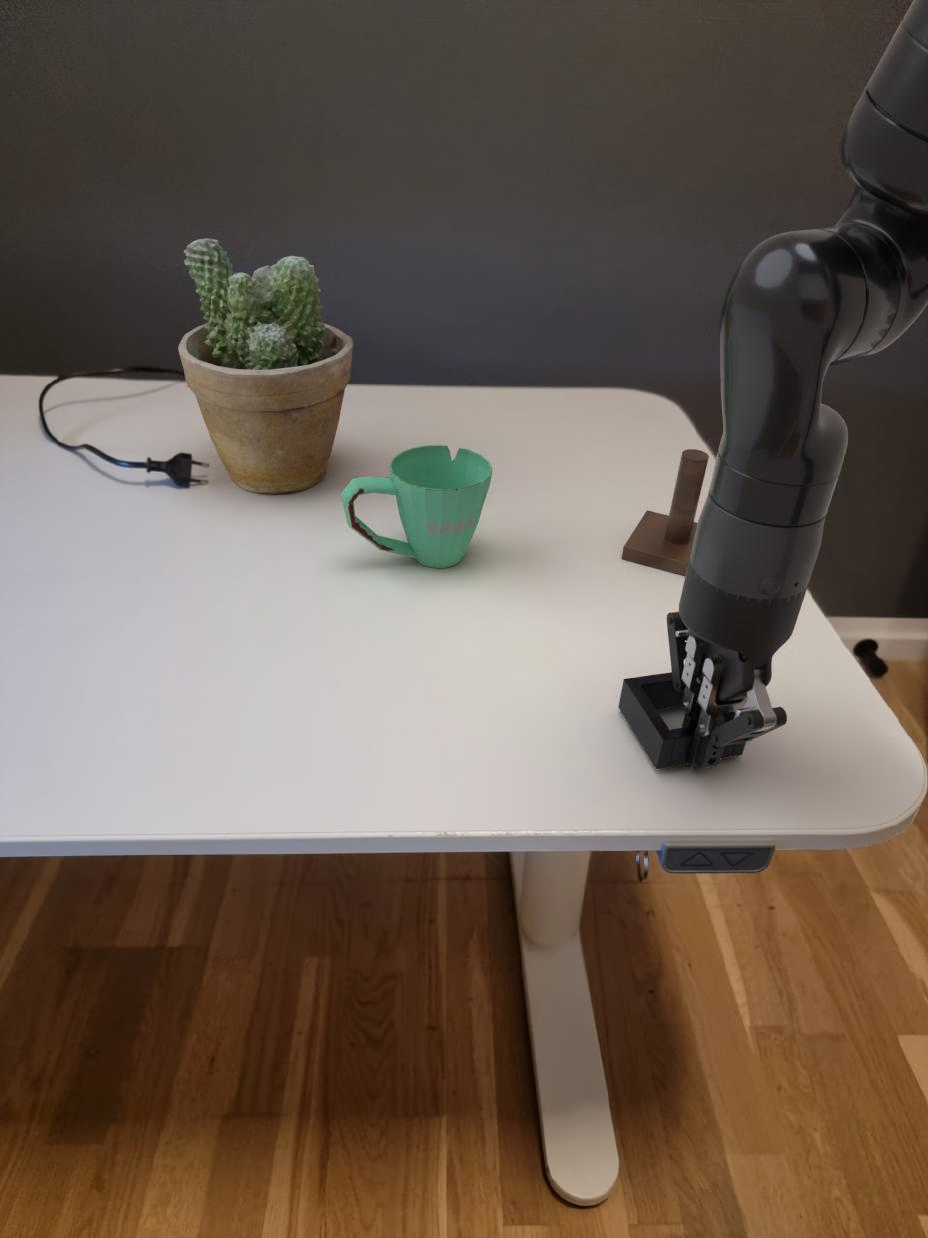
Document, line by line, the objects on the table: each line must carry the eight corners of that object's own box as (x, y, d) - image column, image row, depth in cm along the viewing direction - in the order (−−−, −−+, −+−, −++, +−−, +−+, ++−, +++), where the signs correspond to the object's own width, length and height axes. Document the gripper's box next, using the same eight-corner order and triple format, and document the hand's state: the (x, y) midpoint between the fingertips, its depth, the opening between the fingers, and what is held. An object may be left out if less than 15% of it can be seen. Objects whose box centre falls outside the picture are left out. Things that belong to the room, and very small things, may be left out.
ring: (742, 755, 66) (751, 726, 64) (656, 770, 64) (663, 740, 62) (698, 695, 71) (705, 667, 70) (617, 707, 70) (623, 678, 68)
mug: (467, 526, 93) (471, 440, 88) (500, 573, 86) (508, 482, 80) (333, 544, 89) (329, 455, 83) (357, 596, 82) (353, 502, 76)
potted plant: (361, 442, 110) (356, 231, 95) (350, 513, 95) (342, 275, 80) (215, 438, 109) (187, 224, 94) (180, 508, 94) (141, 267, 79)
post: (725, 542, 93) (749, 447, 87) (707, 582, 87) (732, 483, 80) (644, 521, 96) (662, 428, 90) (621, 558, 89) (638, 461, 83)
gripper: (865, 615, 51) (788, 816, 61) (748, 508, 62) (699, 694, 72) (752, 630, 49) (692, 834, 59) (651, 517, 60) (615, 707, 70)
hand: (696, 757), depth 65 cm, fingers closed on ring, 1 cm apart
